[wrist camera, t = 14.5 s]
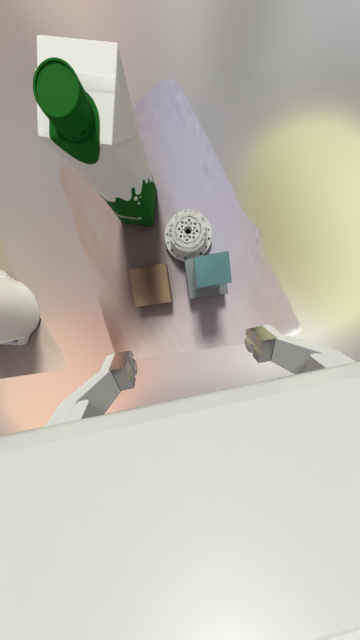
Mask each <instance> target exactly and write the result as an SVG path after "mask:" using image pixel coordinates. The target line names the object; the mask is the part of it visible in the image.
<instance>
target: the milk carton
mask: <svg viewBox="0 0 360 640" xmlns="http://www.w3.org/2000/svg"><path fill="white" fill-rule="evenodd" d="M37 61H38V67H37V68H36V70H35V75H34V78H33V91H34V96H35V99H36V101H37V116H38V136H39V137H40V139H41V140H42V141H44V142H45V143H46V144H47V145H48V146H50V147H51V148H52V149H53V150H55V151H56V152H57V153H58V154H59V155H60V156H61V157H63V158H64V159H65V160H66V161H67V162H69V163H70V164H71V165H72V166H73V167H74V168H76V169H77V170H78V171H79V172H80V173H81V174H82V175H83V176H84V177H85V178H86V180H87V181H88V182H89V183H90V184H91V185H92V186H93V188H94V189H95V190H96V191H97V192H98V193H99V194H100V196H101V197H102V198H103V199H104V200H105V201H106V202H107V204H108V205H109V206H110V207H111V208H112V210H113V211H114V212H115V214H116V215H117V216H118V218H119V219H120V220H121V222H123V223H130V224H137V225H145V226H152V227H153V221H154V212H155V202H156V193H157V189H156V187H155V184H154V181H153V178H152V174H151V171H150V168H149V164H148V161H147V158H146V154H145V151H144V148H143V144H142V141H141V138H140V135H139V131H138V128H137V125H136V121H135V117H134V113H133V108H132V104H131V100H130V95H129V92H128V87H127V83H126V78H125V74H124V70H123V65H122V61H121V57H120V52H119V48H118V43H113V42H103V41H93V40H83V39H72V38H63V37H53V36H43V35H37Z"/></svg>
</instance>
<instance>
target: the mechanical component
mask: <svg viewBox="0 0 360 640" xmlns="http://www.w3.org/2000/svg"><path fill="white" fill-rule="evenodd" d="M186 229H188V231H187V233H188V234H187V233H185V230H186ZM190 230H191V233H190ZM167 235H168V236H167ZM208 239H209V240H208ZM211 240H212V230H211V226H210V224H209V222H208V220H207V219H206V218H205V216H203V215H202V214H201V213H199V212H197V211H196V210H192V209H189V210H187V209H185V210H183V211H181V212H179V213H177V214H175V215H174V216H173V217H172V218H171V219H170V221H169V222H168V224H167V227H166V229H165V243H166V246H167V249H168V251H169V252H170V254H171V255H172V256H173V257H174V258H175V259H177V260H179V261H182V262H185V261H184V260H185V258H186V260H187V259H193V258H194V257H199V256H203V255H205V253H206V252H207V250H208V249H209V246H210V244H211ZM171 251H173V252H171ZM200 254H202V255H200Z"/></svg>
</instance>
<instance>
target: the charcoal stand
mask: <svg viewBox="0 0 360 640" xmlns="http://www.w3.org/2000/svg"><path fill="white" fill-rule="evenodd" d="M193 260H194V258H193V259H187V260H184V261H185V269H186V276H187V283H188V291H189V298H190V299H194V298H201V297H207V296H214V295H221V294H228V289H227V284H224V285H221V286H216V287H210V288H204V289H198V290H195V285H194V277H193V270H192V266H193Z"/></svg>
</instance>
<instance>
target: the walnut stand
mask: <svg viewBox="0 0 360 640" xmlns="http://www.w3.org/2000/svg"><path fill="white" fill-rule="evenodd" d="M128 273H129V278H130V283H131V288H132V293H133V298H134V303H135V307H140V306H147V305H154V304H160V303H167V302H172V301H173V300H172V294H171V287H170V281H169V274H168V268H167V265H166V264H165V263H163V264H157V265H151V266H145V267H140V268H134V269H128Z"/></svg>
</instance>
